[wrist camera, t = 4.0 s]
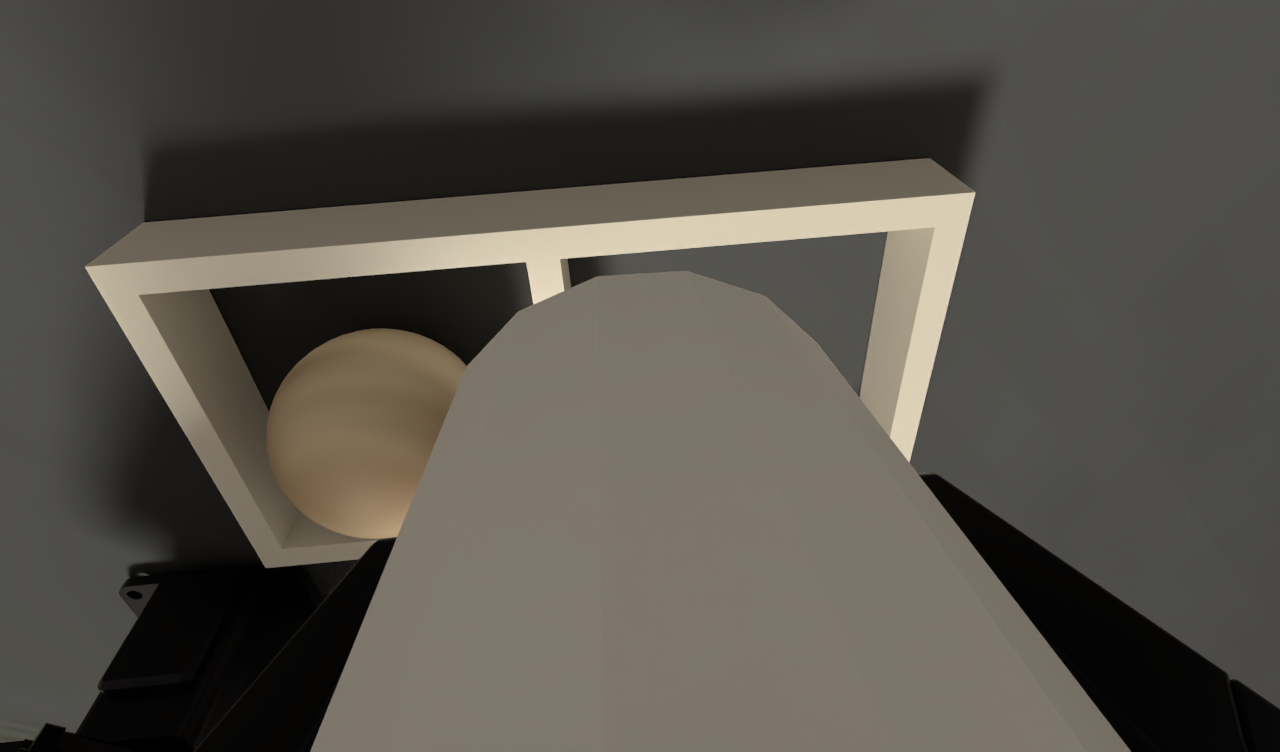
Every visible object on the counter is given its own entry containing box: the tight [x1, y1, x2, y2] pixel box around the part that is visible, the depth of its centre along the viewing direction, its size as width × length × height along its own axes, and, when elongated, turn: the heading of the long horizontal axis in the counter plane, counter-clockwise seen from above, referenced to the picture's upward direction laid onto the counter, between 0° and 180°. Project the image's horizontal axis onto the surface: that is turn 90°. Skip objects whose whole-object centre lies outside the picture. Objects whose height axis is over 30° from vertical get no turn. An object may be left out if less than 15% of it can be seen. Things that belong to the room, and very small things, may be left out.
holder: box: [85, 158, 975, 568], centre depth 19 cm, size 11×20×2 cm, turn 93°
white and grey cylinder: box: [310, 271, 1131, 752], centre depth 7 cm, size 7×7×7 cm
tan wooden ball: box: [266, 328, 467, 539], centre depth 18 cm, size 6×6×6 cm
